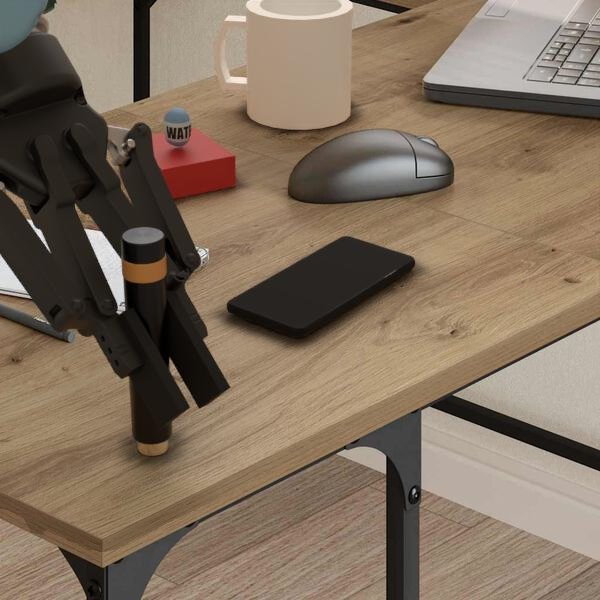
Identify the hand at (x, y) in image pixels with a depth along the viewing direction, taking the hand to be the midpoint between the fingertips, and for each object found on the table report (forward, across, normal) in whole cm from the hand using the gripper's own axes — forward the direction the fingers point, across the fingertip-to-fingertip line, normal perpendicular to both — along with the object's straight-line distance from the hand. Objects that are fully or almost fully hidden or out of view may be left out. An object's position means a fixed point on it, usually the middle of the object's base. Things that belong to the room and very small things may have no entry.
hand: (194, 407), depth 80 cm
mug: (-26, -49, -32) cm, 64 cm away
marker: (0, 0, -6) cm, 6 cm away
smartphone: (-5, -23, -11) cm, 26 cm away
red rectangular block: (-22, -30, -28) cm, 46 cm away
